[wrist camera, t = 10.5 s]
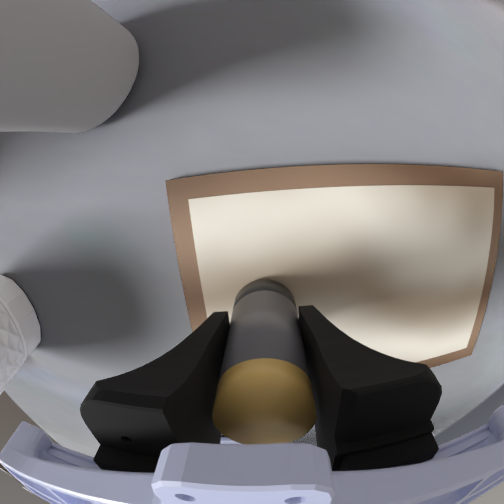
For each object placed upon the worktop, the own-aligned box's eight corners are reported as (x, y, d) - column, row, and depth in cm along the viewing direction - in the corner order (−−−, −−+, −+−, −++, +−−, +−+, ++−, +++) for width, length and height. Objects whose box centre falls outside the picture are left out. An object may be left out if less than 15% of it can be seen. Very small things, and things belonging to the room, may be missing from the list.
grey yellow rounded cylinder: (296, 330, 14) (313, 442, 7) (237, 334, 14) (221, 446, 8) (294, 276, 13) (319, 381, 7) (230, 281, 13) (202, 387, 7)
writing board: (467, 350, 16) (472, 355, 15) (210, 388, 17) (208, 396, 16) (496, 171, 12) (503, 172, 11) (169, 179, 13) (165, 180, 12)
